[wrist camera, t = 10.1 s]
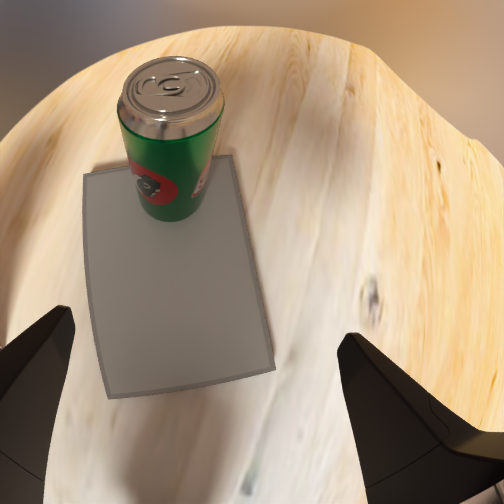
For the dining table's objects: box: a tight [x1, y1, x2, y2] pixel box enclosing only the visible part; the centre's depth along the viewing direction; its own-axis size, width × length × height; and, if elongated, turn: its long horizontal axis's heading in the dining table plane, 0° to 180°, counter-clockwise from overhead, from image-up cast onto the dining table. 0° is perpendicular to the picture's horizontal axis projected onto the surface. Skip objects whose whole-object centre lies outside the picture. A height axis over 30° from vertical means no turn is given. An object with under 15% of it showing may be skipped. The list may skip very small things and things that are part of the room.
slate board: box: [82, 155, 276, 399], centre depth 21 cm, size 18×13×1 cm
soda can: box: [117, 56, 224, 222], centre depth 16 cm, size 5×5×12 cm
